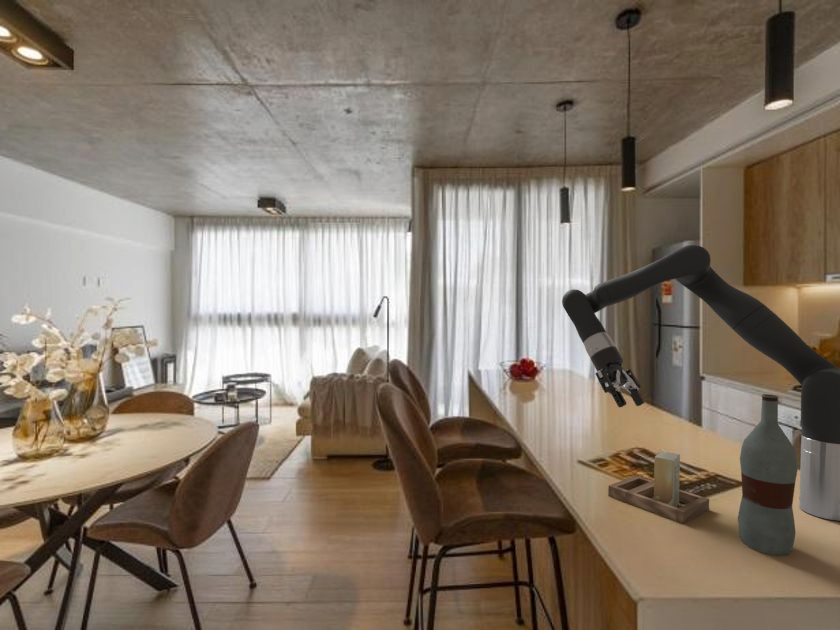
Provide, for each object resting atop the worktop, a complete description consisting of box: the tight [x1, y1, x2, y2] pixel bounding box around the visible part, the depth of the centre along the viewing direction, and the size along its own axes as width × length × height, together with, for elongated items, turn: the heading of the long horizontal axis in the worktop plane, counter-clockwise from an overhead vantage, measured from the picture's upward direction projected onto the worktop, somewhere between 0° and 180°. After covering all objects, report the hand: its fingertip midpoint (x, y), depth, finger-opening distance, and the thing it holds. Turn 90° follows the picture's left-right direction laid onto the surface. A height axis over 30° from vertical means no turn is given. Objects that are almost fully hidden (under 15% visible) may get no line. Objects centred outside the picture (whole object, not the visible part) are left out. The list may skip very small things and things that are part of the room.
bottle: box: [737, 393, 799, 556], centre depth 95 cm, size 9×9×30 cm
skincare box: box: [653, 450, 681, 508], centre depth 113 cm, size 6×4×12 cm
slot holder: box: [607, 475, 710, 524], centre depth 115 cm, size 18×12×2 cm
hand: (632, 405), depth 125 cm, fingers open, 8 cm apart
